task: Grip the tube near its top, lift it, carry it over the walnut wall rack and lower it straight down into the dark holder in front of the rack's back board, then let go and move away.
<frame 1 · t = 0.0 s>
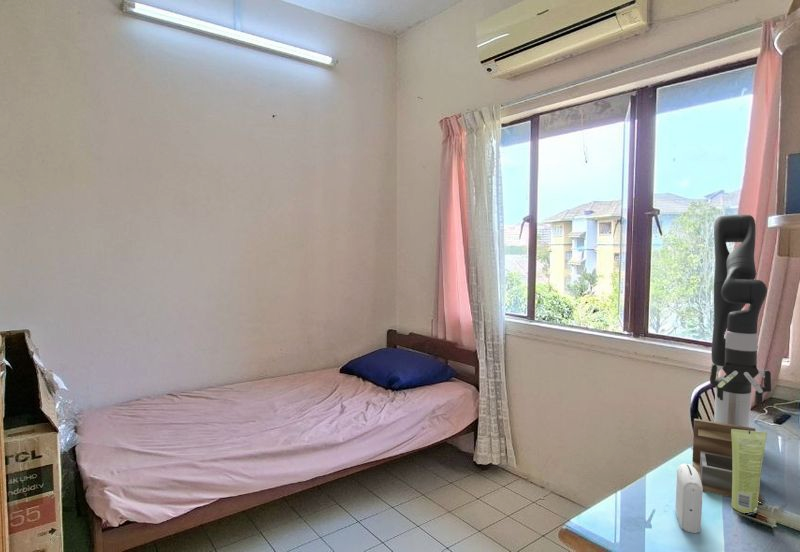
hand: (738, 402, 134), 17 cm above the table, tool pointing down, fingers open, 8 cm apart
wall rack: (725, 485, 120), on the table
photo printer: (687, 521, 105), on the table
tube: (745, 510, 109), on the table
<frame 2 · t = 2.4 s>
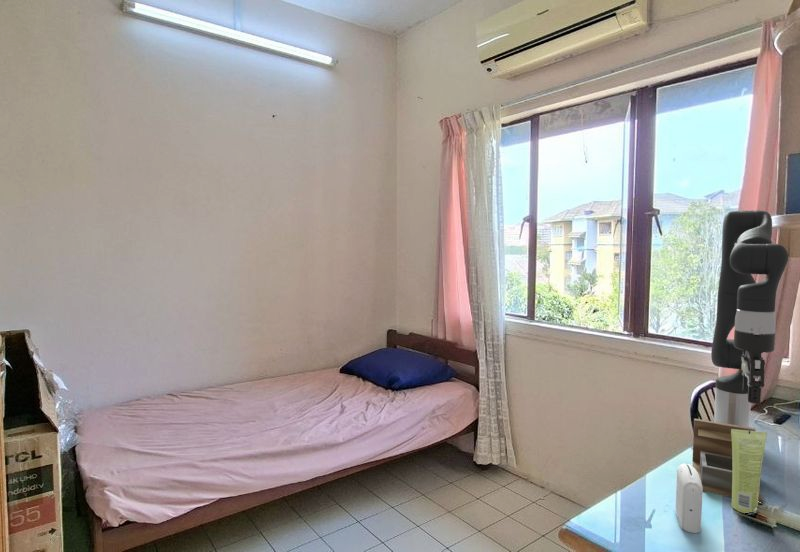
hand: (751, 397, 107), 28 cm above the table, tool pointing down, fingers open, 8 cm apart
nothing on the table moved.
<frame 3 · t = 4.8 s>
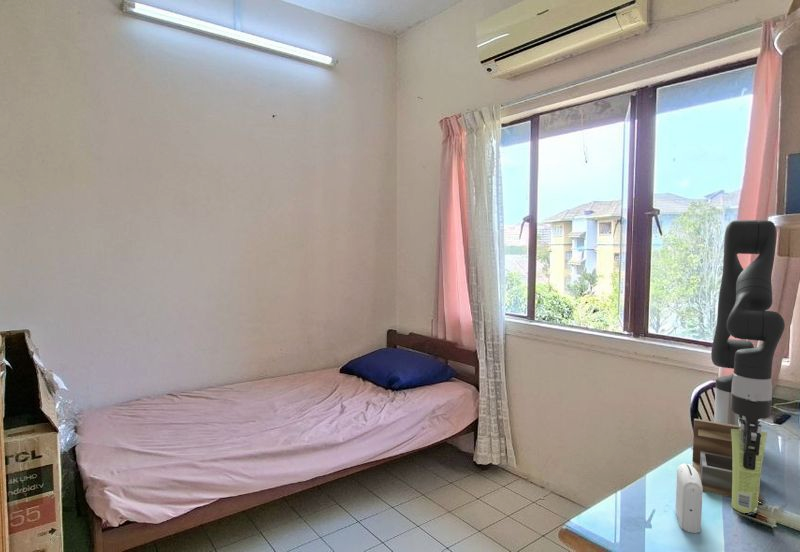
hand: (747, 464, 108), 11 cm above the table, tool pointing down, fingers closed on tube, 4 cm apart
tube: (745, 510, 109), on the table, touching gripper
everything else where it was.
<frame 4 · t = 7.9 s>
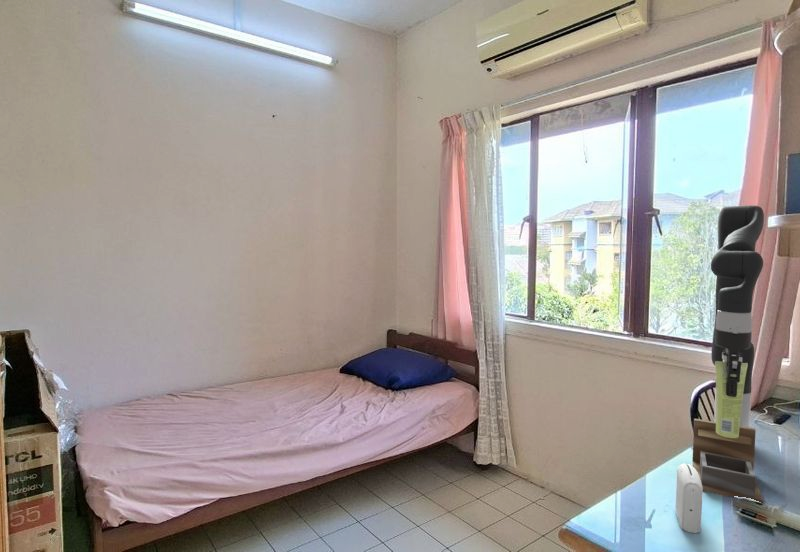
hand: (730, 393, 118), 25 cm above the table, tool pointing down, fingers closed on tube, 4 cm apart
tube: (728, 435, 119), point 13 cm above the table, touching gripper
everything else where it was.
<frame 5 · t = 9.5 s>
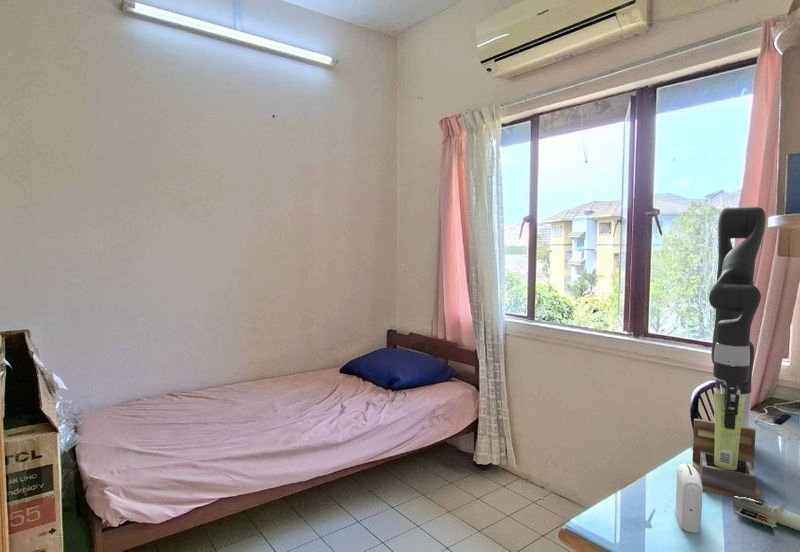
hand: (728, 425, 119), 16 cm above the table, tool pointing down, fingers closed on tube, 4 cm apart
tube: (726, 467, 120), point 5 cm above the table, touching gripper
everything else where it was.
when the fingers open (14 cm above the table, at t = 10.8 s): tube drops 1 cm, resting on wall rack.
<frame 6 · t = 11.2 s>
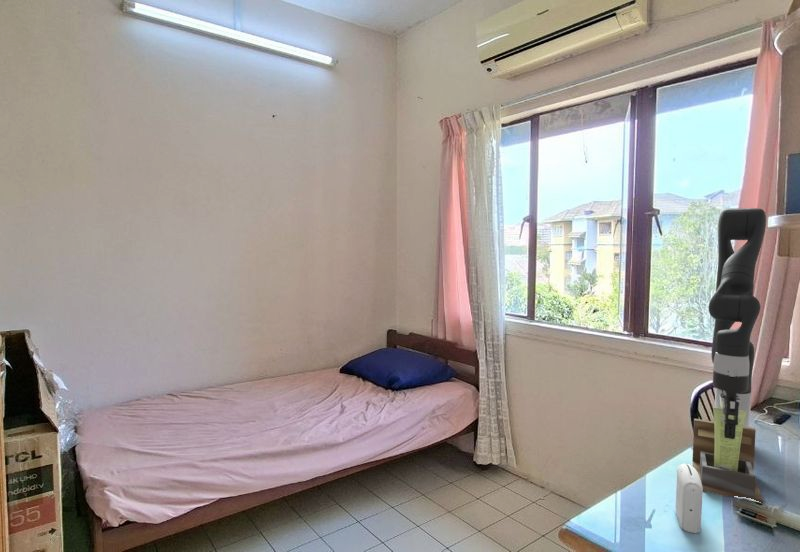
hand: (727, 432, 119), 14 cm above the table, tool pointing down, fingers open, 7 cm apart
tube: (725, 482, 120), point 1 cm above the table, touching wall rack
everything else where it was.
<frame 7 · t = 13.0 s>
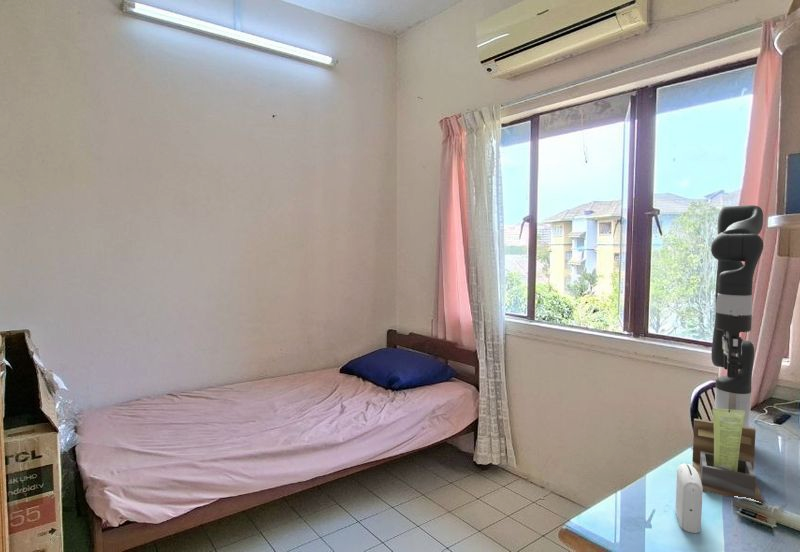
hand: (730, 373, 118), 30 cm above the table, tool pointing down, fingers open, 8 cm apart
nothing on the table moved.
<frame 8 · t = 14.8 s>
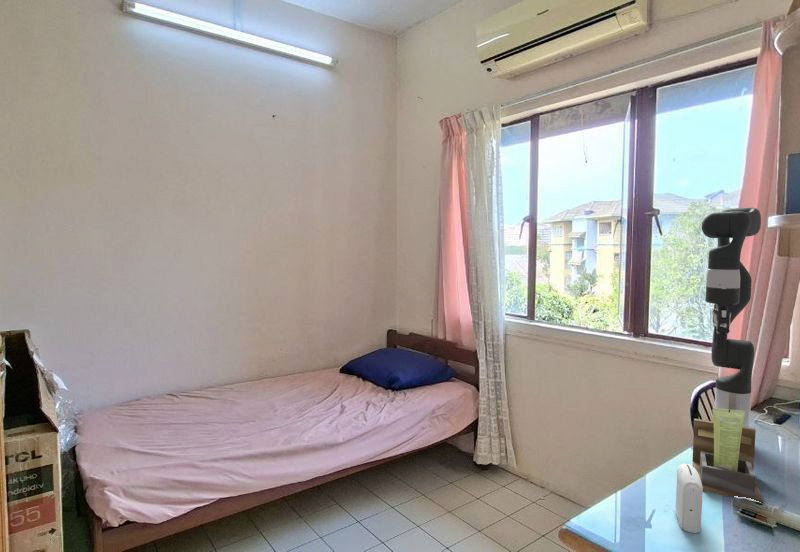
hand: (720, 344, 125), 36 cm above the table, tool pointing down, fingers open, 8 cm apart
nothing on the table moved.
at the end: tube 0.1 cm off-centre on the wall rack, point 0.8 cm above the wall rack's base; tube tilted 0°; the gripper is holding nothing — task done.
